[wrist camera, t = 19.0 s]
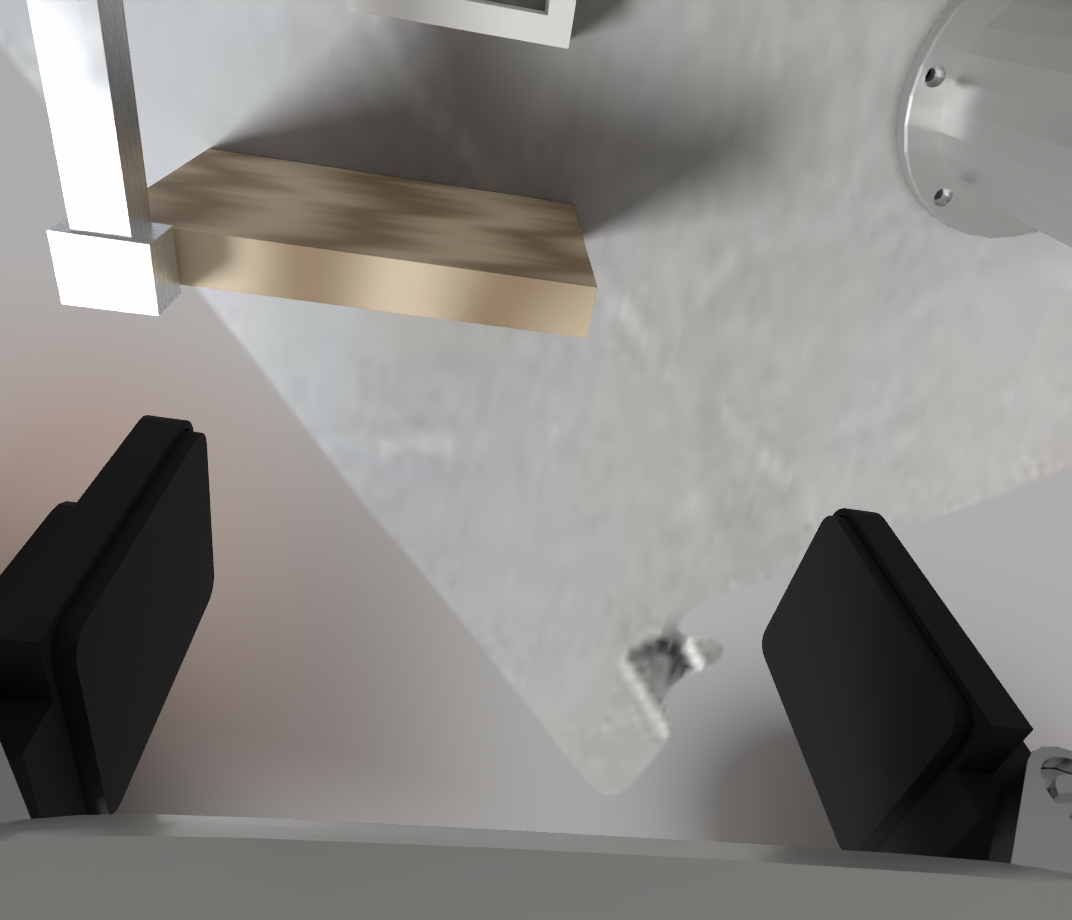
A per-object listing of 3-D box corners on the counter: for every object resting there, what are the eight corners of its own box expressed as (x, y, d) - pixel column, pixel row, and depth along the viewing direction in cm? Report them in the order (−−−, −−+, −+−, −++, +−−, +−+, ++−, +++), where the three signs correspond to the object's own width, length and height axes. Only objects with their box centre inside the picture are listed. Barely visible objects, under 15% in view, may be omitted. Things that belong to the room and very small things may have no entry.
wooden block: (573, 204, 36) (597, 287, 27) (565, 244, 37) (586, 337, 28) (209, 148, 34) (101, 218, 25) (212, 192, 35) (111, 275, 26)
